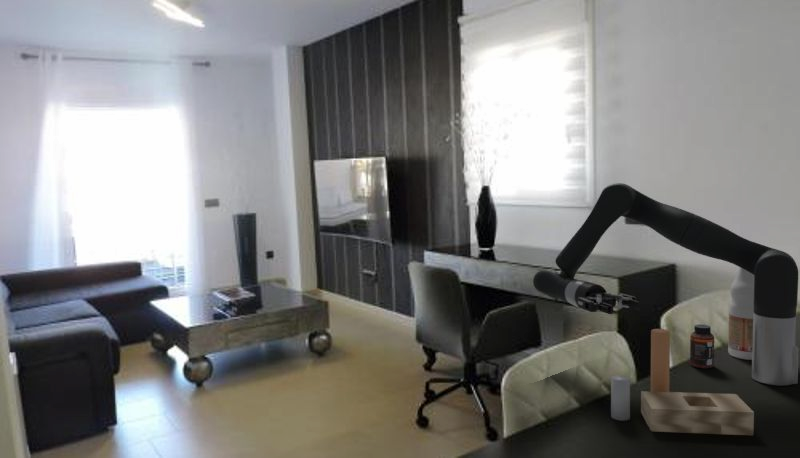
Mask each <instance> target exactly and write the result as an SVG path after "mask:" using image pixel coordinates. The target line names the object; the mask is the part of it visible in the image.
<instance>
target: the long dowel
mask: <svg viewBox="0 0 800 458" xmlns="http://www.w3.org/2000/svg"><path fill="white" fill-rule="evenodd" d="M670 336H671V331H670V330H669V329H665V328H653V329H651V330H650V391H652V392H670V372H671V371H670V370H671V368H670V363H671V359H670V357H671V355H670V354H671V353H670V351H671V347H670V345H671V337H670Z"/></svg>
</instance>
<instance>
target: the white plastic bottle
mask: <svg viewBox="0 0 800 458" xmlns="http://www.w3.org/2000/svg"><path fill="white" fill-rule="evenodd" d="M729 295H730V297H731V300H730V302H729V304H728V305H729V307H728V333H727V334H728V338H727V339H728V340H727V342H728V344H727V346H728V347H727V351H728V354H729V355H730V356H731V357H734V358H736V359H741V360H747V361H749V360H750V361H752V349H753V309H754V275H753V274H752V273H750V272H748V271H746V270H744V269H743V268H741V267H739V269H738V272H737V274H736V275H735V278H734V280H733V282H732V283H731V285H730V286H729Z"/></svg>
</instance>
